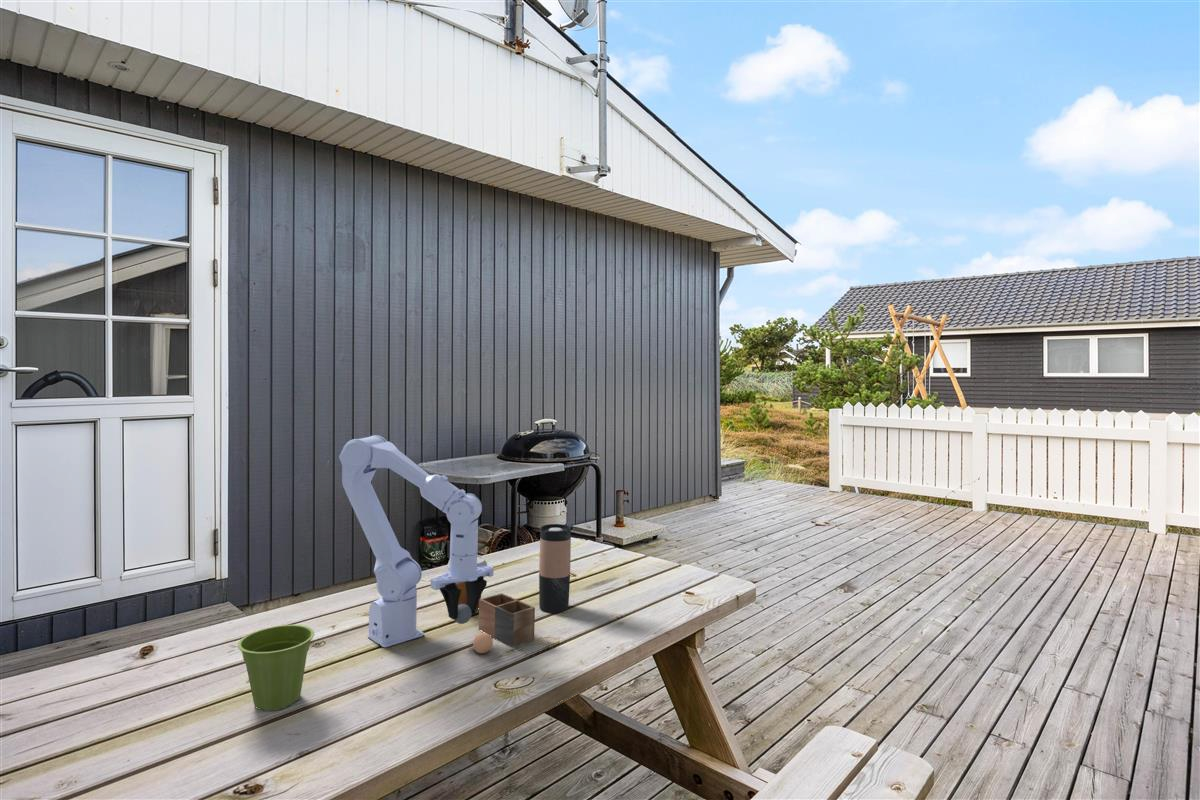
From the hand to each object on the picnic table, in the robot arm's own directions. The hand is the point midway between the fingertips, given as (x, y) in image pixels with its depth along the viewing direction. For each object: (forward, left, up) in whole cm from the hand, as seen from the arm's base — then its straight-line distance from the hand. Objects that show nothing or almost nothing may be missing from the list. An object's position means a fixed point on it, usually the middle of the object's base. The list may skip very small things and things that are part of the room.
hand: (462, 615), depth 139 cm
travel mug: (+28, +1, -6) cm, 28 cm away
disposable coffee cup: (+12, +15, -6) cm, 20 cm away
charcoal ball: (0, 0, -2) cm, 2 cm away
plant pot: (-37, 0, -6) cm, 38 cm away
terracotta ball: (0, -8, -6) cm, 9 cm away
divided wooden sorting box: (+9, -4, -6) cm, 11 cm away
